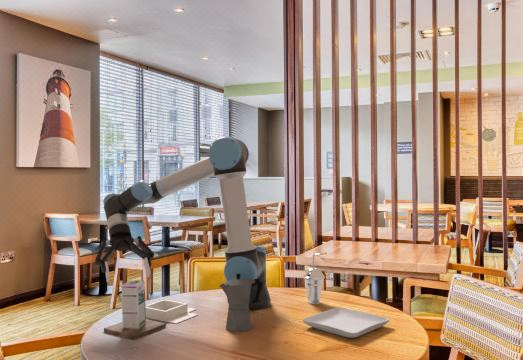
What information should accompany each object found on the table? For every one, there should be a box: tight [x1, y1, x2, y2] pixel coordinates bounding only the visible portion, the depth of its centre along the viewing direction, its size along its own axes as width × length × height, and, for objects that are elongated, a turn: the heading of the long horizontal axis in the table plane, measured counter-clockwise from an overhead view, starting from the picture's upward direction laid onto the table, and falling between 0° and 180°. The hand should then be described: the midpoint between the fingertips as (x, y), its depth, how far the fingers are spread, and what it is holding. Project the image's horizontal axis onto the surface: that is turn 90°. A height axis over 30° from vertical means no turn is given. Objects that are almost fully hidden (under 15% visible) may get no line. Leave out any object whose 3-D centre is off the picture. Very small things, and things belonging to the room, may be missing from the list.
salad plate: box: [302, 306, 390, 339], centre depth 156 cm, size 21×21×3 cm
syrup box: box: [121, 279, 147, 329], centre depth 156 cm, size 6×6×14 cm
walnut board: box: [103, 318, 167, 340], centre depth 156 cm, size 14×14×1 cm
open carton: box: [145, 299, 199, 325], centre depth 173 cm, size 17×17×4 cm
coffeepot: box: [219, 273, 263, 333], centre depth 157 cm, size 15×9×18 cm, turn 115°
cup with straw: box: [302, 252, 328, 305], centre depth 186 cm, size 8×9×20 cm
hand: (129, 277), depth 160 cm, fingers open, 13 cm apart
